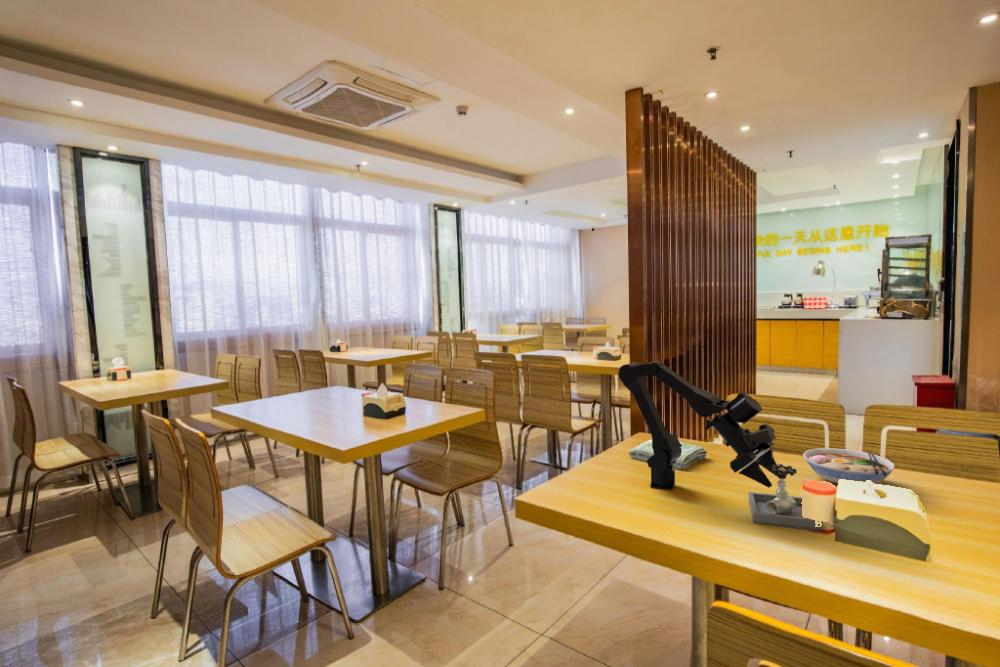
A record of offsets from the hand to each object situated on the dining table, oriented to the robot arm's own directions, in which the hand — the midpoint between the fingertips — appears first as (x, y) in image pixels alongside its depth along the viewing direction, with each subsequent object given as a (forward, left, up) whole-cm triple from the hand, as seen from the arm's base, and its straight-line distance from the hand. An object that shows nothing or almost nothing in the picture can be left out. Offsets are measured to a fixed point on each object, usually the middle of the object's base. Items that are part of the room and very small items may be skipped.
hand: (776, 481), depth 133 cm
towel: (-29, +40, -9) cm, 50 cm away
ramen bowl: (+23, +30, -9) cm, 38 cm away
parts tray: (+2, -1, -8) cm, 9 cm away
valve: (+1, -1, -8) cm, 8 cm away
